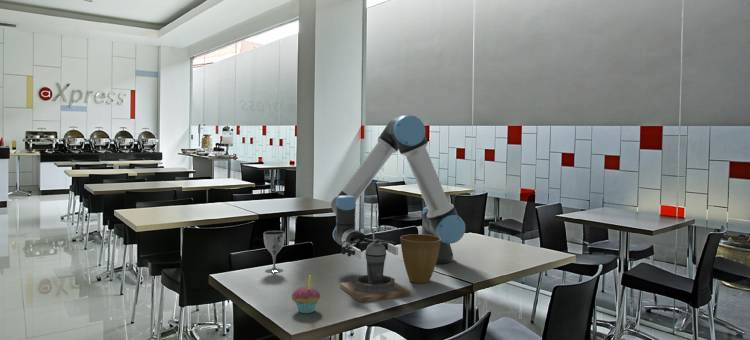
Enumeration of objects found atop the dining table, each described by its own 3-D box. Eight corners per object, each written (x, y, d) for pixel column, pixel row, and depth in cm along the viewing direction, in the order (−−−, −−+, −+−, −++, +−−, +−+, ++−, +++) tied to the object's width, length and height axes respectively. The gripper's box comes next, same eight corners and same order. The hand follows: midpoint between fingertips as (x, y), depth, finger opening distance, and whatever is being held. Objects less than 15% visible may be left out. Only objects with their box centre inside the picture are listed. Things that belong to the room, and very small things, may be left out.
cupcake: (326, 310, 157) (326, 271, 156) (304, 317, 151) (304, 276, 150) (307, 304, 163) (307, 266, 162) (285, 311, 157) (285, 271, 156)
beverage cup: (383, 291, 173) (385, 231, 171) (362, 289, 174) (363, 230, 172) (387, 284, 180) (388, 227, 178) (366, 282, 181) (368, 226, 179)
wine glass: (259, 272, 201) (259, 233, 200) (270, 267, 208) (270, 230, 207) (278, 274, 198) (278, 235, 197) (288, 269, 206) (288, 231, 205)
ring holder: (386, 281, 189) (387, 271, 189) (410, 295, 172) (410, 284, 172) (340, 287, 181) (340, 276, 181) (360, 302, 165) (360, 290, 165)
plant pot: (423, 289, 180) (423, 243, 179) (391, 280, 191) (391, 237, 190) (448, 280, 191) (449, 237, 190) (417, 273, 201) (417, 232, 200)
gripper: (385, 248, 198) (411, 260, 178) (322, 253, 188) (343, 267, 168) (385, 228, 197) (412, 239, 178) (322, 233, 187) (343, 244, 168)
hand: (378, 252), depth 173 cm, fingers open, 13 cm apart
